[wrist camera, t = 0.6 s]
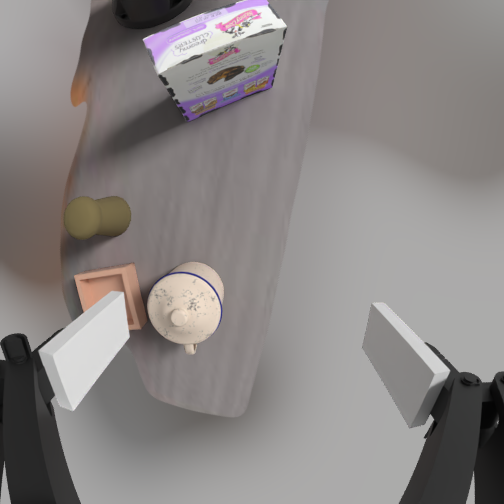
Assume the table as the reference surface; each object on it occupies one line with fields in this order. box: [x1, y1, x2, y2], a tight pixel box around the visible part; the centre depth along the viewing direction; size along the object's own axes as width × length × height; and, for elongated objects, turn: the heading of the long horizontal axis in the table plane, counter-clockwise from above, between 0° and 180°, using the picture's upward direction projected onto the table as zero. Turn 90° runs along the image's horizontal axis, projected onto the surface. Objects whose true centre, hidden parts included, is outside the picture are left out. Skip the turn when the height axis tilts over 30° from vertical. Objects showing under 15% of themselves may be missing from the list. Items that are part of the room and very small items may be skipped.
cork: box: [64, 196, 131, 240], centre depth 33 cm, size 6×6×11 cm
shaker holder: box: [74, 263, 148, 330], centre depth 39 cm, size 9×9×4 cm
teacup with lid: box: [147, 262, 224, 355], centre depth 35 cm, size 12×9×12 cm
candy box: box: [143, 0, 287, 122], centre depth 29 cm, size 14×6×16 cm, turn 115°
